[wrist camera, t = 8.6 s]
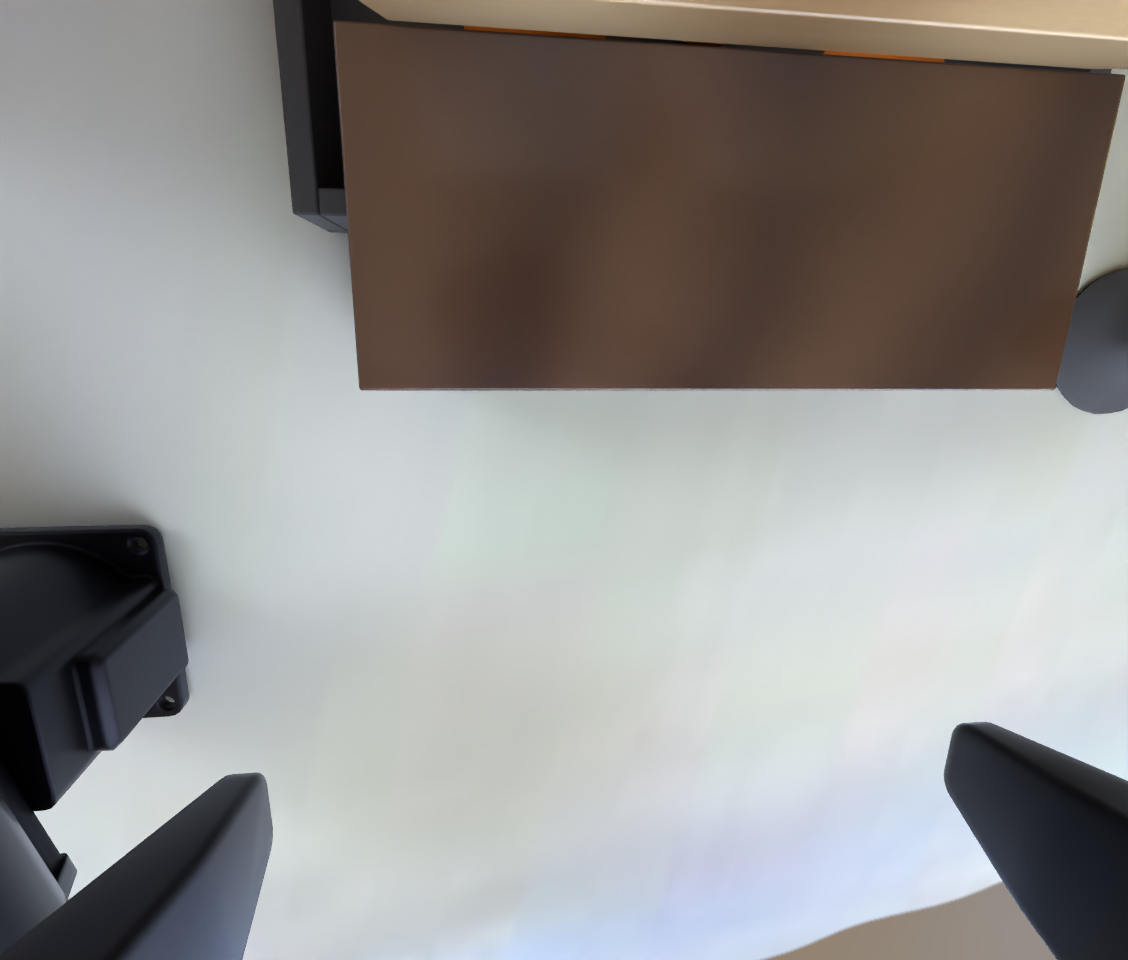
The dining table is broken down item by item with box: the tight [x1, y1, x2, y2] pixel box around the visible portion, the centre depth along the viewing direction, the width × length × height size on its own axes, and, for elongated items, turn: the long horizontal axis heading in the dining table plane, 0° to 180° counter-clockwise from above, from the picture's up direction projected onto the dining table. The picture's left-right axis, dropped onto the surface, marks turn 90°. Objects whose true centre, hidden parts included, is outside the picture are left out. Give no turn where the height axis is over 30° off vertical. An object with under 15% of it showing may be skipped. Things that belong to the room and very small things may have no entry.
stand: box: [333, 21, 1125, 390], centre depth 16 cm, size 17×7×6 cm, turn 89°
